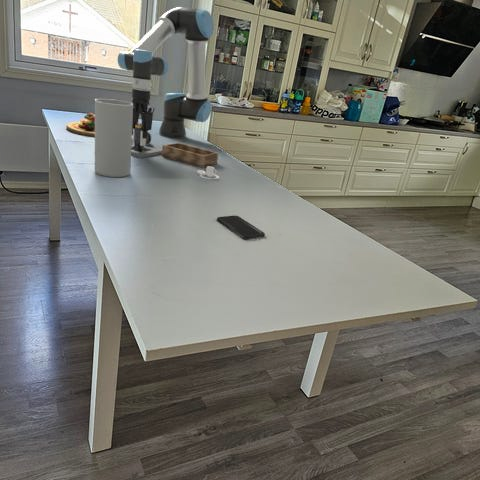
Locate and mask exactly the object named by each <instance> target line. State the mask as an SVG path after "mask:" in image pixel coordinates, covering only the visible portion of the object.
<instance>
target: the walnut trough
mask: <svg viewBox="0 0 480 480" xmlns="http://www.w3.org/2000/svg"><path fill="white" fill-rule="evenodd" d="M161 149H162V150H161V151H162V154H161V157H164V158H167V159H171V160H174V161H178V162H181V163H185V164H189V165H192V166H196V167H200V168H202V167H203V168H207V167H206V166H210V165H211V166H214V164H215V165H217V164H218V158H219V152H215V151H212V150H208V149H205V148H201V147H196V146H194V145H189V144H185V143H182V142H173V143H167V144H163V145H162V147H161Z"/></svg>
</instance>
